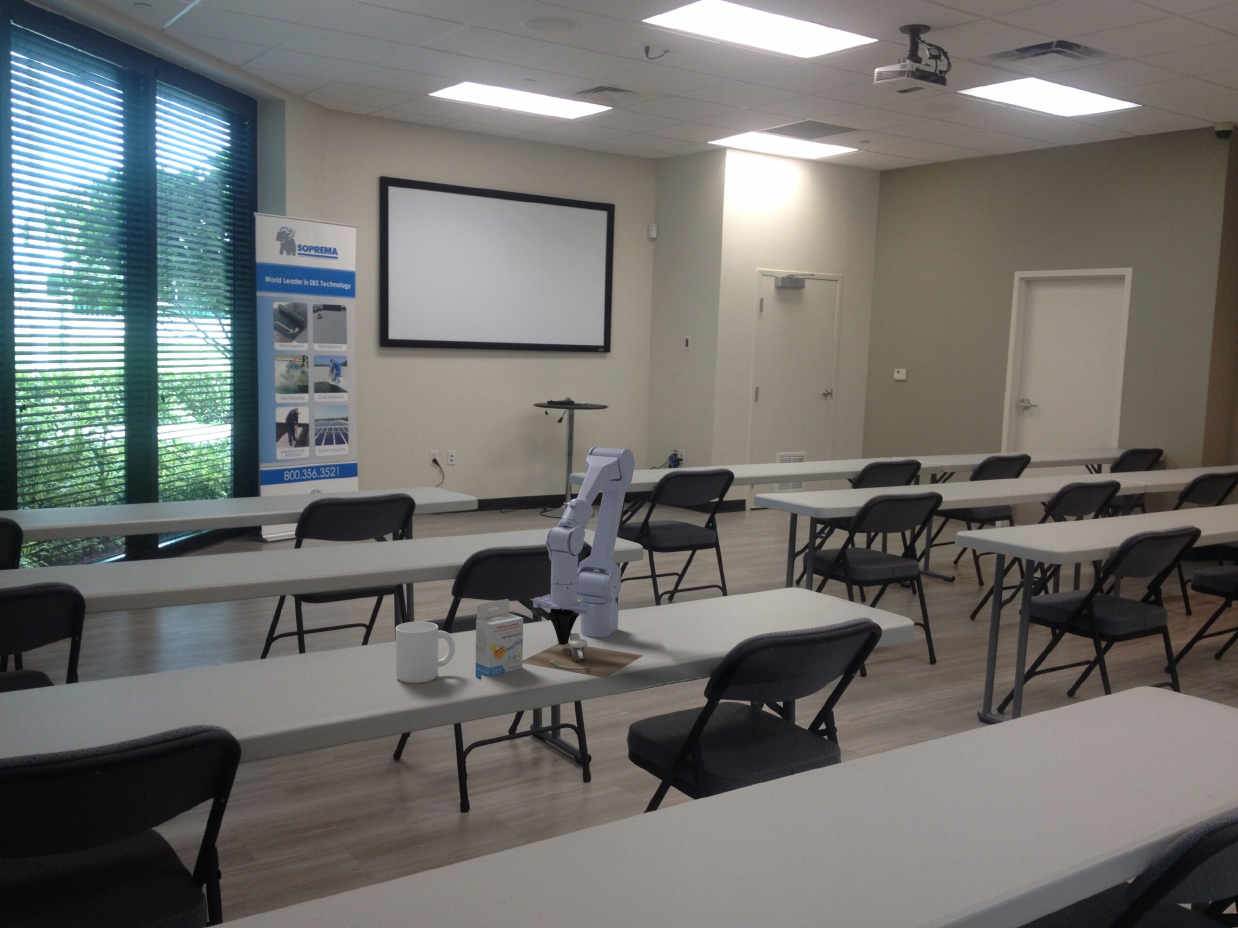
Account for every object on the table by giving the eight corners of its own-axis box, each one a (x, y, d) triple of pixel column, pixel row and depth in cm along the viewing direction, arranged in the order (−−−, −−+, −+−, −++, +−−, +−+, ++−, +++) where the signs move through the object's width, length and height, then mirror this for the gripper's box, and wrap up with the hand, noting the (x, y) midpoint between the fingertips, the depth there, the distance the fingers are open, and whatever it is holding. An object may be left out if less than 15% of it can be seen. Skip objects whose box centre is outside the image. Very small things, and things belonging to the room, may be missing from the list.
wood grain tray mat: (561, 647, 220) (561, 640, 219) (643, 660, 211) (643, 654, 210) (519, 667, 204) (519, 661, 204) (605, 683, 195) (605, 676, 195)
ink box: (490, 682, 194) (490, 609, 193) (474, 676, 198) (475, 604, 196) (523, 673, 200) (524, 602, 199) (508, 667, 204) (508, 597, 202)
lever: (589, 668, 200) (590, 649, 200) (572, 668, 200) (572, 649, 199) (582, 647, 215) (582, 629, 214) (565, 648, 214) (565, 630, 214)
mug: (448, 666, 204) (448, 617, 203) (461, 678, 196) (461, 627, 195) (390, 674, 198) (390, 623, 197) (402, 686, 191) (402, 634, 190)
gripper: (525, 581, 213) (525, 642, 214) (584, 589, 206) (583, 652, 208) (542, 575, 219) (542, 635, 221) (600, 583, 213) (599, 644, 214)
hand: (563, 643), depth 215 cm, fingers closed
